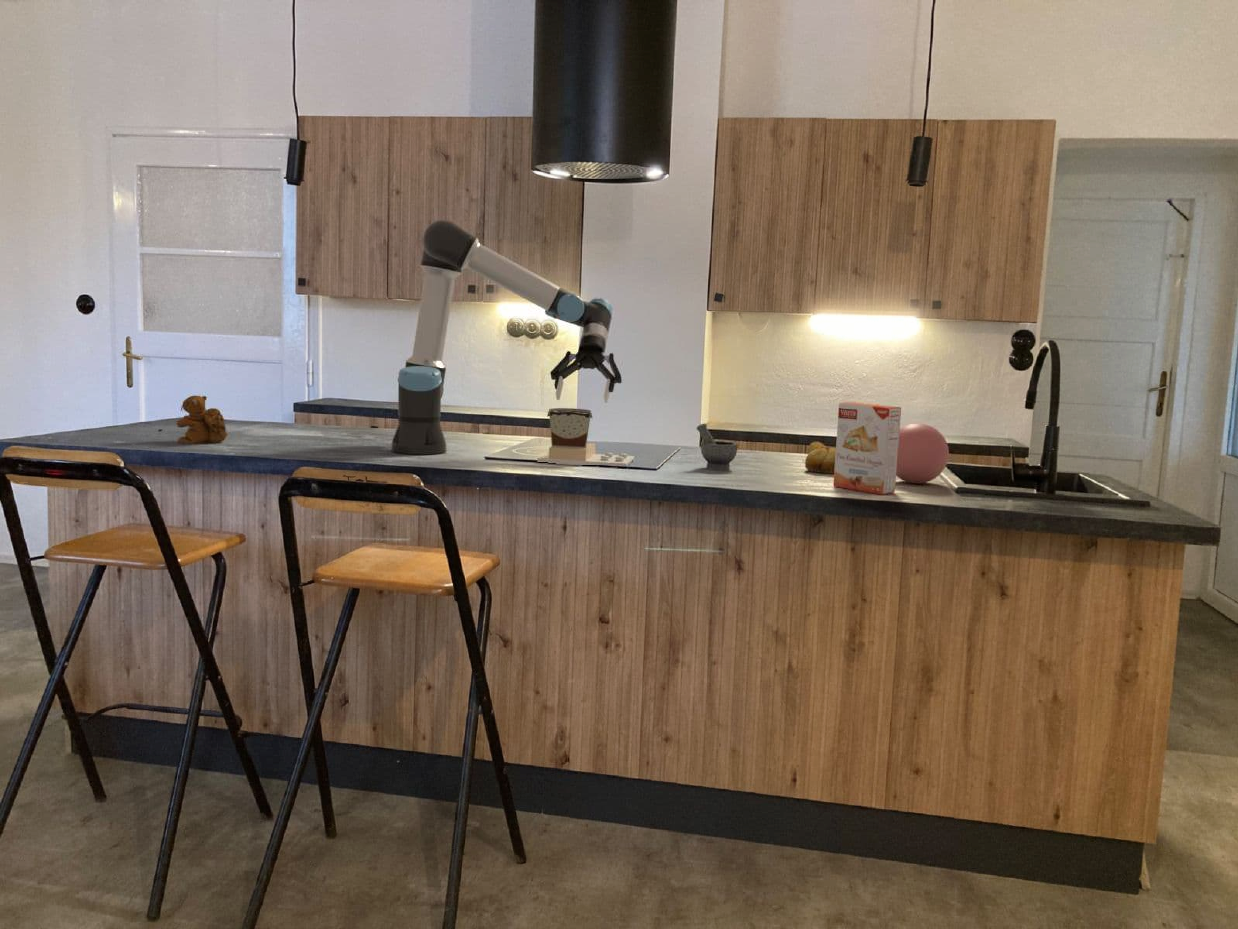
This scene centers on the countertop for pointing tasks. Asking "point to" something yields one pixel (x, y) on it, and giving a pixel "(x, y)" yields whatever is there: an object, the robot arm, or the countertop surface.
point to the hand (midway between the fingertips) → (581, 398)
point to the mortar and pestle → (716, 450)
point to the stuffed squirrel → (201, 422)
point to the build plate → (589, 462)
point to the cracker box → (867, 447)
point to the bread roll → (820, 458)
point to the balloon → (921, 453)
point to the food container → (569, 427)
